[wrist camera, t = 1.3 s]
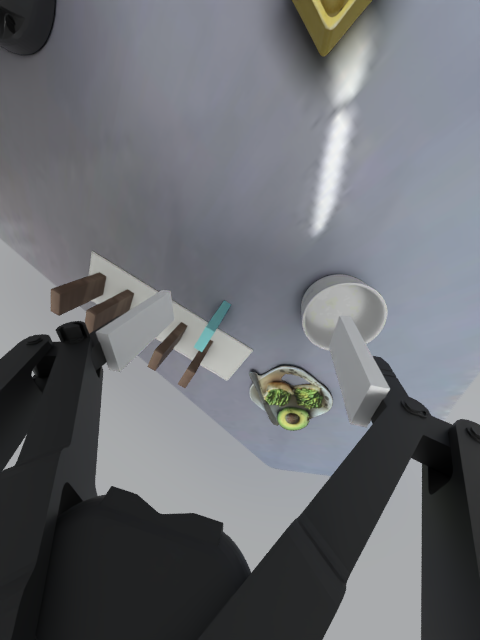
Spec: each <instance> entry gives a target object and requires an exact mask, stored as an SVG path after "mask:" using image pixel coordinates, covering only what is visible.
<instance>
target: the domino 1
mask: <svg viewBox="0 0 480 640" xmlns="http://www.w3.org/2000/svg"><path fill="white" fill-rule="evenodd" d="M106 277H107V276H105V275H103V274H102V273H100V272H99V273H96V274H93V275H90V276H87V277H84V278H81V279H79V280H76V281H73V282H70V283H67V284H64V285H61V286H59V287H56V288H53V289H51V311H52V312H53V313H55V314H57V315H62V314H63V313H66V312H68V311H70V310H72V309H74V308H76V307H78V306H81V305H83V304H85V303H87V302H89V301H91V300H93V299H95V298H97V297H99V296H102V295H103V293H104V288H105V282H106Z"/></svg>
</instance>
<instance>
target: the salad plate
mask: <svg viewBox="0 0 480 640" xmlns="http://www.w3.org/2000/svg"><path fill="white" fill-rule="evenodd" d="M285 374H292V375H296V376H300V377H301V378H304V379H305V380H307V381H308V382H310V383H311V384H304V385H295V386H293V385H290V384H287V383H286V382H285V381H282V380H281V378H282V377H283V376H284V375H285ZM249 376H250V378H251V380H252V382H253V384H252V385H251V387H250V398H251V400H252V401H253V402H254V403H255V404H256V405H258V406H259V407H260V408H262V409H263V410H264V411H266V412H267V414H268V415H269V416H268V417H269V419H270V420H271V422H272V423H273V424H274V425H277V426H278V425H280V426H281V427H282V428H284V429H286V430H293V431H294V430H300V429H302V428H304V427H306V426H307V425H308V423H309V419H311V418H313V417H317V416H319V415H321V414H324V413H326V412H327V411H329V410H330V409H331V407H332V404H333V399H332V395H331V393H330V392H329V390H328V389H327V388H326V387H325V386H324V385H323V384H321V383H319V382H318V381H317V380H316V379H315V378H313V377H312V376H311V375H309V374H308V373H306V372H305V371H303V370H302V369H300V368H296V367H293V366H280V367H277V368H274V369H272V370H270V371H269V372H267V373H265V374H263V375H258V374H257V373H256V372H250V373H249Z"/></svg>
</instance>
